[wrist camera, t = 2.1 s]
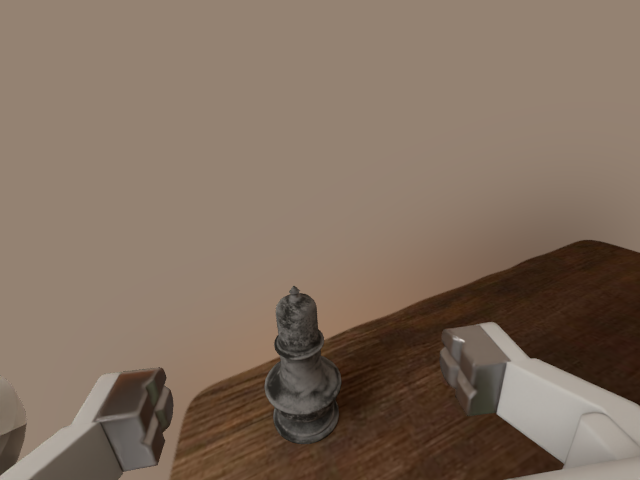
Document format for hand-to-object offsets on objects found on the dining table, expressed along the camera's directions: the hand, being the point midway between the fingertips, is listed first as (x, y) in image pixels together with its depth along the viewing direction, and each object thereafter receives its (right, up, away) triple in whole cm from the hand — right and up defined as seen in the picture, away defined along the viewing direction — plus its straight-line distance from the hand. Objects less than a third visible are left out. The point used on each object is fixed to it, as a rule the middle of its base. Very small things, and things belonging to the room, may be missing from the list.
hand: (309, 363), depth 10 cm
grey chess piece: (-1, -11, +18) cm, 21 cm away
